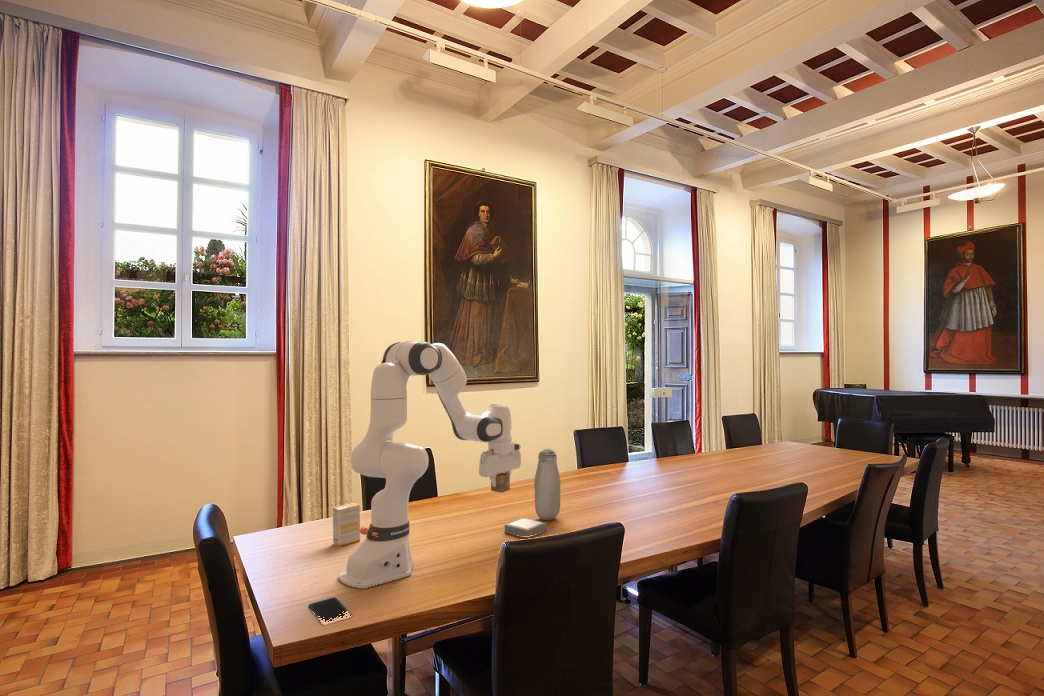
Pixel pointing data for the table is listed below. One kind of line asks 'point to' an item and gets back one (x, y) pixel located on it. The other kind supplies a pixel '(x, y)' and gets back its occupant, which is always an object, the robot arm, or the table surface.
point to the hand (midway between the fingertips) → (500, 484)
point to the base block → (525, 527)
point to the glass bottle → (547, 485)
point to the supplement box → (346, 524)
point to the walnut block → (502, 483)
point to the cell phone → (328, 609)
